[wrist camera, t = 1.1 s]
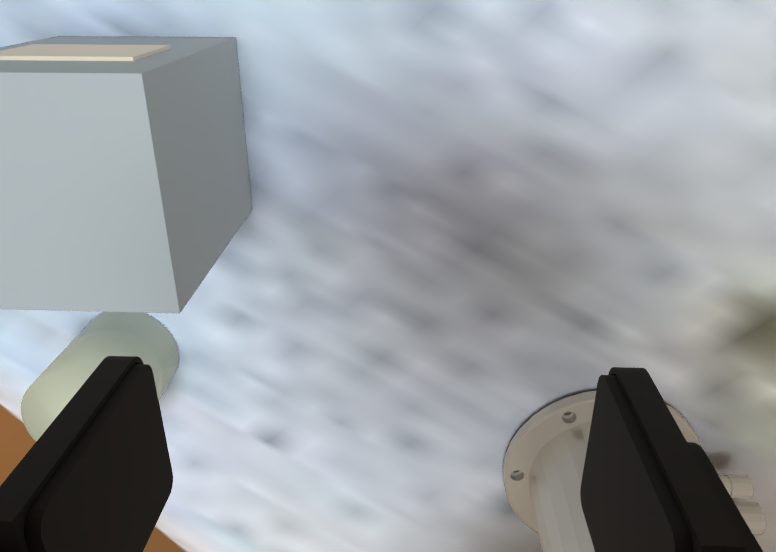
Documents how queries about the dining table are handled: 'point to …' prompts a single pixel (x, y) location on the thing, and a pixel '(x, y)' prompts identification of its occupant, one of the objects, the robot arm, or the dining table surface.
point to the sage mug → (88, 351)
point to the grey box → (118, 170)
